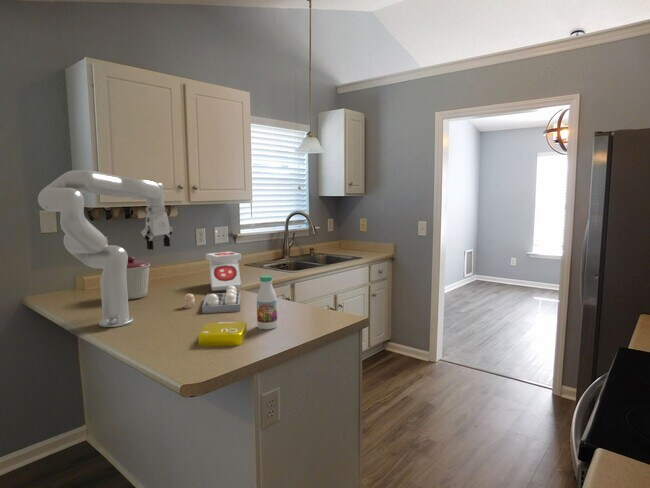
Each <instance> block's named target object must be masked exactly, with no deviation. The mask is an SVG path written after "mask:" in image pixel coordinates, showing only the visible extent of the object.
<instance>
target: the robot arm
mask: <svg viewBox="0 0 650 488" xmlns="http://www.w3.org/2000/svg"><path fill="white" fill-rule="evenodd" d="M83 193H84V194H93V195H100V196H107V197H113V198H114V197H115V198H131V199H133V200H136V201H138V200H139V201H140V200H141V201H142V200H145V202H146V208H145V212H146V213H145V214H146V215H145V228H143V230H141V231H140V233H141V235H142V237H143V239H144V241H146V249H147V250H150V251H151V250H154V240H153V238H154V237H159V236H163V246H164V247H170V246H171V241H170V238H171V235H172V234H173V229H174V228H173V226H170V222H169V218H168V214H167V212H166V208H165V205H166V204H165V197H164V196H165V195H164V185H163V183H161V182H155V181H151V180H147V179H143V178H133V177H129V176H122V175H117V174H111V173H107V172H106V173H105V172H101V171H96V170H89V169H79V170H76V169H75V170H70V171H69V170H68V171H66V172H64V173H63V174H62V175H60V176H59V177H57V178H56V179H54V180H53V181H52V182H50V183H49V184H47V186H45V187H44V188H43V189H41V191H40V192H39V194H38V197H37V203H38V205H39V206H40V208H42V209H43V210H44V211H47V212H54V213H55V212H58V213H59V212H60V219H59V221H60V223H59V224H60V228H61V230H62V232H63V233H64V235H63V245H64V247H65V249H66V251H67V252H69V253H70V254H71V255H72V256H74V258H76V259H77V260H79V261H80V262H82V263H83V264H84V265H85V266H87V267H89V268H92V269H101V270H102V273H101V276H100V278H99V279H100V280H99V286H100V296H101V298H100V299H101V311H102V319H101V320H99V322H98V325H99V327H100V328H101V327H102V328H117V327H122V326H126V325H129V324H131V323H133V322H134V317H133V316H130V312H129V299H128V293H127V279H126V269H127V262H128V257H129V256H128V253H127V250H126V249H124V248H123V247H122V246H119V245H113V244H111V245H109V244H108V239H107V237H106V236H105V234H103V233H102V232H101V231H100V230H99V229H98V228H97V227H95V226H94V225H93V224H92V223H91V222H90V221H89V220H88V219H87V218H86V216H85V212H84V211H85V210H84V209H85V208H84V207H85V199H84V195H83Z"/></svg>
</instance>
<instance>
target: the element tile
mask: <svg viewBox="0 0 650 488" xmlns="http://www.w3.org/2000/svg"><path fill="white" fill-rule="evenodd" d="M247 334H248V323H247V322H246V321H218V322H217V321H213V322H207V323H206V324H205V325H204V327H203V328H202V329H201V330H200V332H199V333H198V336H197V337H198V346H199V347H225V346H227V347H229V346H231V347H232V346H233V347H234V346H241V345H242V344H244V342H245V339H246V336H247Z"/></svg>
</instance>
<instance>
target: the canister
mask: <svg viewBox="0 0 650 488" xmlns="http://www.w3.org/2000/svg"><path fill="white" fill-rule="evenodd" d="M150 266H151V263H149V262H147V261H145V260H144V261H143V260H135V257H134V256H131V255H130V256H128V262H127V269H126V279H127V293H128V300H137V299H141V298H144V297H146V295H147V294H148V291H149V276H150V275H149V274H150Z"/></svg>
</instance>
